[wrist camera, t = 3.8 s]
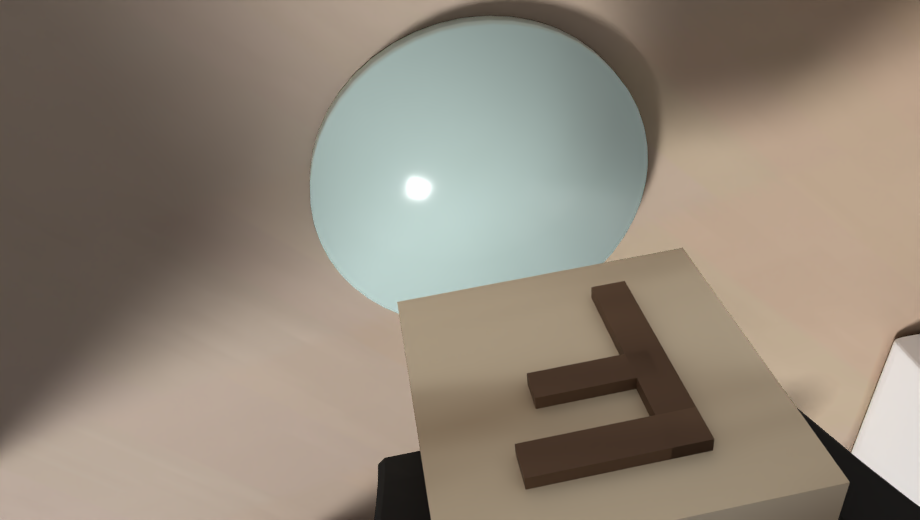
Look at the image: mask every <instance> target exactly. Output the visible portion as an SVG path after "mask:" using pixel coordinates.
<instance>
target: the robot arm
mask: <svg viewBox="0 0 920 520" xmlns="http://www.w3.org/2000/svg"><path fill="white" fill-rule="evenodd" d="M797 409H798V408H797ZM798 410H799V409H798ZM799 412H800V413H801V414H802V416H803V417H804V419H805V420H806V421H807V423H808V424H809V426H810V427H811V429H812V430H813V431H814V433H815V434H816V436H817V437H818V438H819V440H820V441H821V443H822V444H823V445H824V447H825V448H826V450H827V451H828V452H829V454H830V455H831V457H832V458H833V459H834V461H835V462H836V464H837V465H838V466H839V468H840V469H841V471H842V472H843V473H844V475H845V476H846V478H847V479H848V480H849V482H850V483H849V487H848V490H847V493H846V496H845V499H844V502H843V506H842V509H841V512H840V515H839V518H838V520H920V507H919V506H918V505H917V504H915V503H914V502H913V501H911V500H910V499H909V498H908V497H906V496H905V495H904V494H902V493H901V492H900V491H899V490H897V489H896V488H895V487H894V486H892V485H891V484H890V483H888V482H887V481H886V480H885V479H883V478H882V477H881V476H879V475H878V474H877V473H876V472H874V471H873V470H872V469H870V468H869V467H868V466H867V465H865V464H864V463H863V462H862V461H861V460H859V459H858V458H857V457H856V456H854V455H853V454H852V453H851V452H849V451H848V450H847V449H846V448H845V447H843V446H842V445H841V444H840V443H839V442H837V441H836V440H835V439H834V438H832V437H831V436H830V435H829V434H828V433H826V432H825V431H824V430H823V429H822V428H820V427H819V426H818V425H817V424H816V423H815V422H813V421H812V420H811V419H810V418H809V417H807V416H806V415H805V414H804V413H803V412H802V411H800V410H799ZM374 520H431V516H430V510H429V504H428V497H427V491H426V484H425V478H424V471H423V465H422V459H421V452H420V451H417V452H412V453H407V454H402V455H397V456H392V457H387V458H384V459H383V460H382V461H381V462H380V463H379V464H378V488H377V500H376V510H375V517H374Z"/></svg>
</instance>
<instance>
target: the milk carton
mask: <svg viewBox="0 0 920 520" xmlns="http://www.w3.org/2000/svg"><path fill="white" fill-rule="evenodd" d="M851 453H852V454H853V455H854V456H856V457H857V458H858V459H859V460H861V461H862V462H863V463H864V464H865V465H867V466H868V467H869V468H870V469H872V470H873V471H874V472H876V473H877V474H878V475H879V476H881V477H882V478H883V479H885V480H886V481H887V482H888V483H890V484H891V485H892V486H894V487H895V488H896V489H897V490H899V491H900V492H901V493H902V494H904V495H905V496H906V497H908V498H909V499H910V500H911V501H913V502H914V503H915V504H917V505H918V506H919V507H920V334H916V335H911V336H906V337H901V338H898V339H896V340H895V341H894V343H893V345H892V348H891V350H890V353H889V355H888V358H887V361H886V363H885V366H884V368H883V371H882V373H881V376H880V379H879V381H878V384H877V386H876V389H875V392H874V394H873V397H872V399H871V402H870V405H869V407H868V410H867V413H866V415H865V418H864V420H863V423H862V426H861V428H860V431H859V434H858V436H857V439H856V441H855V444H854V447H853V449H852V452H851Z"/></svg>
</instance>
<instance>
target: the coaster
mask: <svg viewBox="0 0 920 520" xmlns="http://www.w3.org/2000/svg"><path fill="white" fill-rule="evenodd" d="M647 167H648V152H647V141H646V135H645V129H644V125H643V122H642V119H641V116H640V113H639V110H638V108H637V106H636V104H635V102H634V100H633V98H632V96H631V94H630V92H629V91H628V89H627V88H626V87H625V85H624V84H623V83H622V81H621V80H620V79H619V77H618V76H617V75H616V73H615V72H614V71H613V70H612V69H611V68H610V66H609V65H608V64H607V63H606V62H605V61H604V60H603V59H602V58H601V57H600V56H599V55H598V54H597V53H596V52H594V51H593V50H592V49H591V48H589V47H588V46H587V45H585V44H584V43H582V42H581V41H580V40H578V39H577V38H575V37H573V36H571V35H569V34H567V33H565V32H563V31H561V30H559V29H557V28H555V27H552V26H549V25H546V24H543V23H540V22H537V21H534V20H528V19H522V18H516V17H511V16H476V17H466V18H459V19H455V20H451V21H446V22H442V23H438V24H435V25H432V26H429V27H427V28H424V29H421V30H419V31H416V32H413V33H412V34H410V35H408V36H406V37H404V38H402V39H400V40H398V41H396V42H394V43H392V44H391V45H389V46H388V47H387V48H385V49H384V50H382V51H381V52H380V53H378V54H377V55H375V56H374V57H372V58H371V59H370V60H369V61H368V62H367V63H366V64H365V65H364V66H362V67H361V68H360V69H359V70H358V71H357V72H356V73H355V74H354V75H353V76H352V77H351V78H350V80H349V81H348V82H347V83H346V84H345V86H344V87H343V88H342V89H341V90H340V92H339V93H338V95H337V96H336V98H335V99H334V101H333V103H332V104H331V106H330V107H329V109H328V111H327V113H326V115H325V117H324V119H323V122H322V124H321V126H320V128H319V131H318V134H317V137H316V141H315V144H314V148H313V152H312V159H311V167H310V200H311V210H312V215H313V221H314V225H315V228H316V231H317V234H318V237H319V240H320V242H321V244H322V246H323V248H324V250H325V252H326V254H327V256H328V257H329V259H330V261H331V262H332V263H333V265H334V266H335V267H336V269H337V270H338V271H339V273H340V274H341V275H342V276H343V277H344V278H345V279H346V280H347V281H348V282H349V283H350V284H351V285H352V286H353V287H354V288H355V289H357V290H358V291H359V292H361V293H362V294H363V295H365V296H366V297H367V298H369V299H370V300H372V301H374V302H376V303H377V304H379V305H381V306H383V307H384V308H387V309H389V310H391V311H394V312H396V313H398V314H399V311H398V304H397V302H400V301H405V300H410V299H415V298H421V297H426V296H431V295H437V294H442V293H447V292H452V291H458V290H463V289H468V288H473V287H479V286H484V285H489V284H495V283H500V282H505V281H510V280H516V279H521V278H526V277H532V276H537V275H542V274H547V273H553V272H558V271H563V270H569V269H574V268H579V267H584V266H590V265H595V264H600V263H604V262H605V260H606V259H607V258H608V257H609V256H610V255H611V254H612V253H613V251H614V250H615V248H616V247H617V246H618V244H619V243H620V242H621V240H622V239H623V237H624V236H625V234H626V232H627V230H628V229H629V227H630V225H631V223H632V221H633V220H634V217H635V215H636V212H637V210H638V207H639V205H640V202H641V199H642V195H643V191H644V187H645V183H646V175H647Z"/></svg>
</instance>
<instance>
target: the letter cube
mask: <svg viewBox="0 0 920 520" xmlns="http://www.w3.org/2000/svg"><path fill="white" fill-rule="evenodd" d="M397 304H398V311H399V317H400V323H401V330H402V336H403V343H404V349H405V356H406V362H407V368H408V375H409V381H410V388H411V394H412V401H413V407H414V413H415V420H416V426H417V433H418V439H419V446H420V452H421V459H422V465H423V471H424V478H425V484H426V491H427V497H428V504H429V510H430V516H431V520H838V518H839V515H840V512H841V509H842V506H843V502H844V499H845V496H846V493H847V490H848V487H849V483H850V482H849V480H848V479H847V478H846V476H845V475H844V473H843V472H842V471H841V469H840V468H839V466H838V465H837V464H836V462H835V461H834V459H833V458H832V457H831V455H830V454H829V452H828V451H827V450H826V448H825V447H824V445H823V444H822V443H821V441H820V440H819V438H818V437H817V436H816V434H815V433H814V431H813V430H812V429H811V427H810V426H809V424H808V423H807V421H806V420H805V419H804V417H803V416H802V414H801V413H800V412H799V410H798V409H797V407H796V406H795V405H794V403H793V402H792V400H791V399H790V398H789V396H788V395H787V393H786V392H785V391H784V389H783V388H782V386H781V385H780V384H779V382H778V381H777V379H776V378H775V377H774V375H773V374H772V372H771V371H770V370H769V368H768V367H767V365H766V364H765V363H764V361H763V360H762V358H761V357H760V356H759V354H758V353H757V351H756V350H755V349H754V347H753V346H752V344H751V343H750V342H749V340H748V339H747V337H746V336H745V335H744V333H743V332H742V330H741V329H740V327H739V326H738V325H737V323H736V322H735V320H734V319H733V318H732V316H731V315H730V313H729V312H728V311H727V309H726V308H725V306H724V305H723V304H722V302H721V301H720V299H719V298H718V297H717V295H716V294H715V292H714V291H713V290H712V288H711V287H710V285H709V284H708V283H707V281H706V280H705V278H704V277H703V276H702V274H701V273H700V271H699V270H698V269H697V267H696V266H695V264H694V263H693V262H692V260H691V259H690V257H689V256H688V255H687V253H686V252H685V250H684V249H683V248H679V249H674V250H669V251H664V252H658V253H653V254H648V255H642V256H637V257H632V258H627V259H621V260H616V261H611V262H605V263H600V264H595V265H590V266H584V267H579V268H574V269H569V270H563V271H558V272H553V273H547V274H542V275H537V276H532V277H526V278H521V279H516V280H510V281H505V282H500V283H495V284H489V285H484V286H479V287H473V288H468V289H463V290H458V291H452V292H447V293H442V294H437V295H431V296H426V297H421V298H415V299H410V300H405V301H400V302H397Z"/></svg>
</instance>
